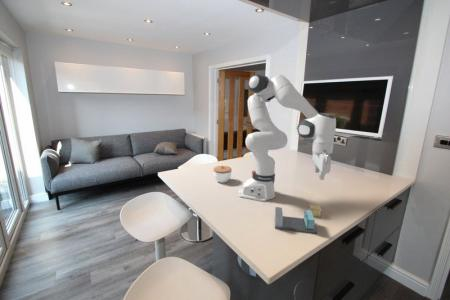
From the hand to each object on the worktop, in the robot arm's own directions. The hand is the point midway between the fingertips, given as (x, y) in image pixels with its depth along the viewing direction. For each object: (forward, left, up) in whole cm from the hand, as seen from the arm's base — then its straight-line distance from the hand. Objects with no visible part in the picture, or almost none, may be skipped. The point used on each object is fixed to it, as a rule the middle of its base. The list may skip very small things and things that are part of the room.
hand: (319, 175), depth 106 cm
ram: (-5, -12, -19) cm, 23 cm away
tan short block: (0, 0, -21) cm, 21 cm away
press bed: (-11, -12, -21) cm, 27 cm away
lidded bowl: (-55, +34, -22) cm, 68 cm away
